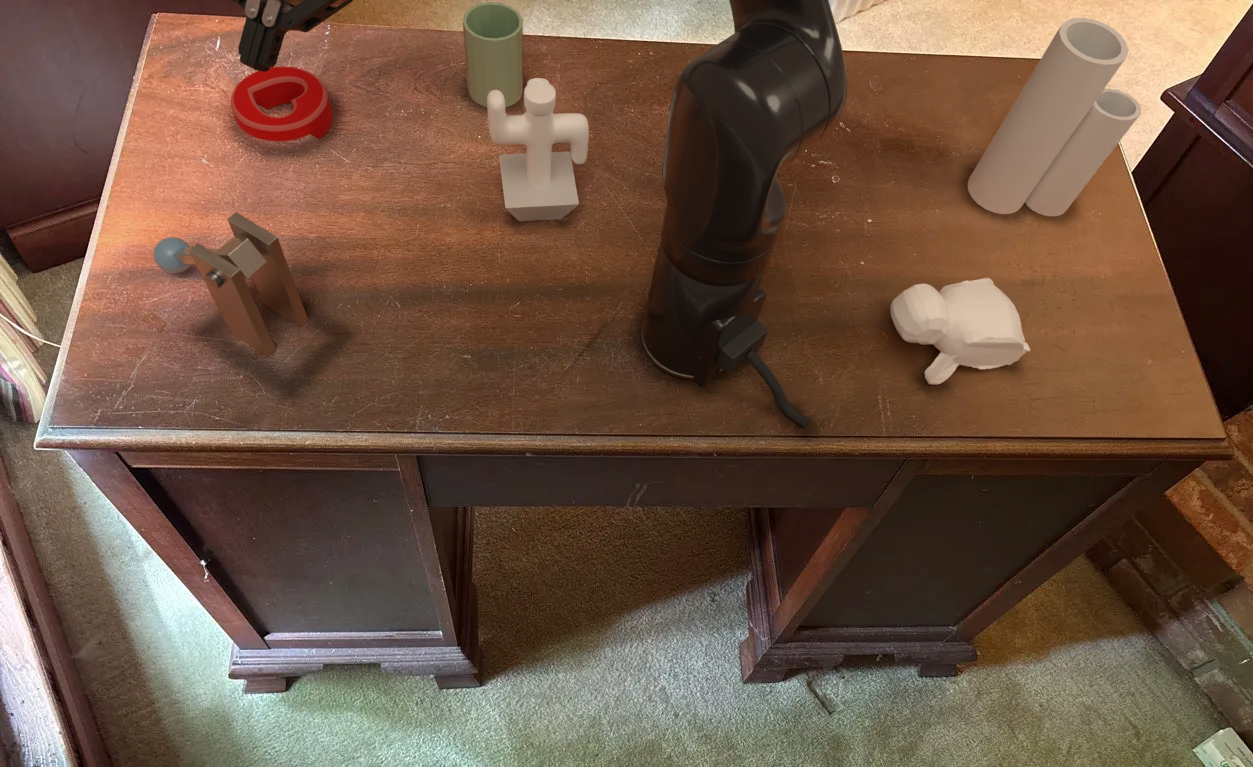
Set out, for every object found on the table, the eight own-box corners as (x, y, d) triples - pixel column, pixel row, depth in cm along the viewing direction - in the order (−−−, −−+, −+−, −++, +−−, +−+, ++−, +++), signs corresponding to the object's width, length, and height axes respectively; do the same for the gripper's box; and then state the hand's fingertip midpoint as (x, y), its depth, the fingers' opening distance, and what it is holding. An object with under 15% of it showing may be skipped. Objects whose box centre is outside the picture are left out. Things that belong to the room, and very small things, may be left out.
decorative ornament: (239, 91, 95) (230, 66, 92) (331, 86, 97) (325, 62, 94) (236, 154, 90) (227, 131, 88) (333, 148, 92) (327, 125, 89)
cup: (533, 93, 99) (534, 24, 92) (491, 116, 97) (488, 48, 89) (499, 64, 101) (496, -5, 94) (457, 86, 99) (451, 16, 91)
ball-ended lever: (165, 279, 80) (139, 251, 78) (192, 257, 82) (167, 229, 80) (246, 287, 70) (219, 255, 68) (275, 261, 71) (249, 229, 69)
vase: (975, 214, 96) (1072, 63, 79) (960, 166, 100) (1049, 12, 83) (1072, 217, 97) (1188, 69, 80) (1053, 169, 101) (1160, 19, 84)
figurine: (587, 228, 90) (597, 114, 77) (495, 233, 88) (489, 118, 75) (578, 176, 93) (586, 59, 81) (489, 180, 92) (483, 62, 79)
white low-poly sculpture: (959, 324, 92) (851, 304, 85) (1022, 274, 86) (911, 248, 78) (990, 394, 88) (879, 379, 80) (1059, 347, 81) (945, 327, 74)
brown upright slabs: (203, 334, 79) (151, 241, 68) (260, 284, 82) (219, 188, 71) (288, 389, 77) (248, 303, 66) (342, 336, 80) (313, 245, 69)
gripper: (212, -195, 67) (158, 29, 72) (360, -126, 66) (293, 97, 71) (273, -160, 74) (219, 41, 79) (407, -97, 73) (343, 103, 78)
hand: (254, 67), depth 75 cm, fingers closed
